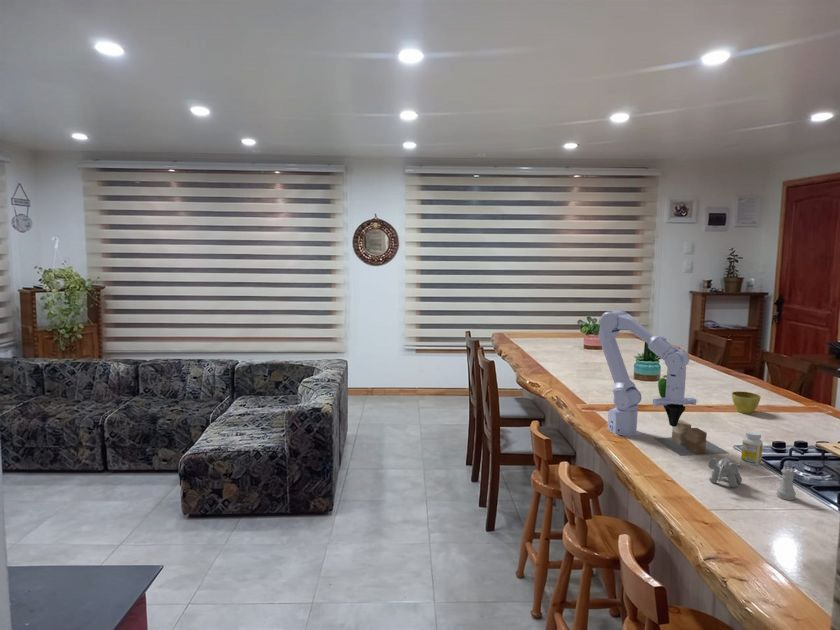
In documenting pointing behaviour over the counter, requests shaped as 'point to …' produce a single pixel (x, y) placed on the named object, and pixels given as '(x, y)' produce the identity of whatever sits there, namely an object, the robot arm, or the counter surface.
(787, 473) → the rook chess piece
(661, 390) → the bell pepper
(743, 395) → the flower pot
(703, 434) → the walnut block
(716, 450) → the mat
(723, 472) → the elephant statuette
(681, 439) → the beech block
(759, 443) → the supplement bottle
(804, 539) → the counter surface
